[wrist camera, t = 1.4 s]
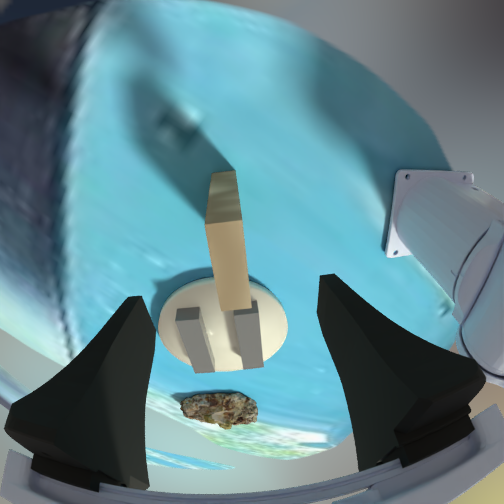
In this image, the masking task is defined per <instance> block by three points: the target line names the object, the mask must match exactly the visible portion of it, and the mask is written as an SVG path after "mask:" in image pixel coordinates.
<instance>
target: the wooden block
mask: <svg viewBox="0 0 504 504" xmlns="http://www.w3.org/2000/svg"><path fill="white" fill-rule="evenodd" d="M205 230H206V236H207V241H208V247H209V252H210V258H211V263H212V268H213V274H214V279H215V284H216V289H217V294H218V299H219V304H220V309H221V311H230V310H239V309H248V308H252V306H251V296H250V287H249V278H248V269H247V260H246V250H245V241H244V232H243V222H242V214H241V207H240V200H239V193H238V186H237V179H236V171H235V170H233V171H225V172H216V173H212V175H211V182H210V189H209V196H208V203H207V210H206V218H205Z"/></svg>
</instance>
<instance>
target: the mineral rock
mask: <svg viewBox="0 0 504 504" xmlns="http://www.w3.org/2000/svg"><path fill="white" fill-rule="evenodd" d="M180 405H182V406H181V408H180V409H181V410H182V411H183V415H184V416H185V417H186V418H190V419H196V420H199V421H201V422H207V423H212V424H216V423H218V425H219V426H220V427H222V428H224V429H231V427H232V424H233V425H239V424H250V423H251V422H256V421H257V417H256V416H257V415H258V409H257V406H256V402H255V401H254V400H252V399H251V398H249V397H246V396H244V395H243V394H241V393H238V392H237V393H234V394H232V393H230V394H226V393H217V394H197V395H195V396H193V397H192V398H186V399H185V400H184V401H182V402H181V404H180Z"/></svg>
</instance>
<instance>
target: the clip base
mask: <svg viewBox="0 0 504 504" xmlns="http://www.w3.org/2000/svg"><path fill="white" fill-rule="evenodd" d="M249 287H250V296H251V306H252V308H248V309H239V310H230V311H221V309H220V304H219V299H218V294H217V289H216V284H215V279H214V277H208V278H202V279H199V280H195V281H193V282H190V283H188V284H185V285H184V286H182V287H180V288H178V289H177V290H176V291H175V292H173V293H172V294H171V295H170V296H169V297H168V298H167V300H166V301H165V303H164V305H163V307H162V309H161V313H160V318H159V322H158V331H159V335H160V338H161V341H162V342H163V344H164V346H165V347H166V348H167V350H168V351H169V352H170V353H171V354H172V355H174V356H175V357H176V358H178V359H179V360H181V361H182V362H184V363H187V364H189V365H191V366H192V367H193V369H194V372H195V373H210V372H215V371H235V370H241V369H243V370H244V369H253V368H261V367H264V364H263V361H265V360H267V359H268V358H270V357H271V356H272V355H273V354H275V353H276V352H277V351H278V349H279V348H280V347H281V346H282V344H283V342H284V340H285V338H286V335H287V329H288V325H287V319H286V315H285V311H284V308H283V306H282V304H281V302H280V301H279V300H278V298H277V297H276V296H275V295H274V294H273V293H272V292H271V291H269V290H268V289H266V288H265V287H263V286H261V285H259V284H257V283H255V282H252V281H250V280H249Z"/></svg>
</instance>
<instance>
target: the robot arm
mask: <svg viewBox="0 0 504 504" xmlns="http://www.w3.org/2000/svg"><path fill="white" fill-rule="evenodd" d="M406 174H408V176H407V178H405V176H406ZM463 176H464V177H463ZM473 180H474V175H473V173H471V172H462V171H444V170H404V169H401V170H398V171H397V173H396V176H395V186H394V195H393V203H392V210H391V218H390V224H389V231H388V237H387V243H386V248H385V255H386V256H387V257H388V258H393V257H400V256H406V255H414V257H415V258H416V259H417V260H418V261H419V262H420V263H421V264H422V265H423V266H424V268H425V269H426V270H427V271H428V272H429V273H430V274H431V276H432V277H433V278H434V279H435V280H436V281H437V283H438V284H439V285H440V286H441V287H442V288H443V290H444V291H445V292H446V293H447V295H448V296H449V297H450V298H451V299H452V301H453V302H454V303H455V308H454V311H453V313H452V315H453V316H454V318H455V319H456V320H457V322H458V323H459V324H460V325H459V327H458V329H457V332H456V345H457V349H458V351H459V354H460V355H459V354H456V353H453V352H450V351H448V350H446V349H443V348H441V347H438V346H436V345H434V344H432V343H429V342H427V341H426V340H424V339H422V338H420V337H418V336H416V335H414V334H412V333H411V332H409V331H407V330H406V329H404V328H402V327H401V326H399V325H398V324H396V323H394V322H393V321H392V320H390V319H389V318H387V317H386V316H385V315H383V314H382V313H380V312H379V311H378V310H376V309H375V308H374V307H373V306H371V305H370V304H369V303H368V302H366V301H365V300H364V299H363V298H362V297H360V296H359V295H358V294H357V293H356V292H355V291H354V290H352V289H351V288H350V287H349V286H348V285H347V284H346V283H344V282H343V281H342V280H341V279H340V278H339V277H338V276H337V275H335V274H328V275H320V281H319V293H318V305H317V316H318V319H319V323H320V327H321V331H322V334H323V337H324V339H325V342H326V344H327V347H328V349H329V352H330V354H331V357H332V359H333V362H334V364H335V367H336V369H337V372H338V374H339V377H340V380H341V383H342V386H343V389H344V393H345V397H346V401H347V405H348V410H349V414H350V419H351V423H352V429H353V434H354V439H355V446H356V453H357V460H358V469H359V472H358V473H354V474H351V475H347V476H343V477H340V478H336V479H332V480H328V481H323V482H319V483H314V484H309V485H304V486H298V487H292V488H286V489H279V490H271V491H263V492H252V493H237V494H180V493H165V492H155V491H147V490H146V489H147V488H148V487H149V486H150V485H149V479H148V471H147V463H146V450H145V404H146V395H147V390H148V384H149V379H150V373H151V368H152V363H153V357H154V352H155V337H156V329H155V327H154V325H153V322H152V320H151V318H150V315H149V313H148V310H147V308H146V305H145V303H144V300H143V298H142V296H131V297H128V298H127V299H126V300H125V301H124V302H123V303H122V305H121V306H120V307H119V308H118V309H117V311H116V312H115V313H114V314H113V315H112V317H111V318H110V319H109V320H108V322H107V323H106V324H105V325H104V326H103V328H102V329H101V330H100V331H99V332H98V334H97V335H96V336H95V337H94V338H93V339H92V340H91V341H90V343H89V344H88V345H87V346H86V347H85V348H84V349H83V350H82V351H81V352H80V353H79V354H78V355H77V356H76V357H75V358H74V359H73V360H72V361H71V362H70V363H69V364H68V365H67V366H66V367H65V368H63V369H62V370H61V371H60V372H59V373H57V374H56V375H55V376H54V377H53V378H51V379H50V380H49V381H48V382H46V383H45V384H43V385H42V386H41V387H39V388H38V389H36V390H35V391H33V392H32V393H30V394H28V395H27V396H25V397H23V398H21V399H20V400H18V401H16V402H14V403H12V405H11V408H10V411H9V415H8V417H7V420H6V424H5V427H4V429H5V432H6V433H7V434H8V435H9V436H10V437H11V438H12V439H14V440H15V441H16V442H18V443H19V444H20V445H22V446H23V447H25V448H26V449H27V450H29V451H31V452H32V453H34V455H33V459H32V458H30V457H27V456H25V455H23V454H21V453H18V452H16V451H14V450H12V449H9V451H8V455H7V460H6V464H5V469H4V474H3V479H2V485H1V491H0V495H1V497H3V498H5V499H6V500H8V501H9V502H11V503H13V504H308V503H313V502H318V501H323V500H327V499H331V498H335V497H339V496H343V495H346V494H350V493H354V492H357V491H360V490H363V489H366V488H368V489H367V490H366V491H365V492H362V493H359V494H356V495H353V496H351V497H347V498H345V499H342V500H338V501H334V502H332V504H448V503H450V502H451V501H453V500H454V499H456V498H457V497H459V496H460V495H462V494H463V493H465V492H466V491H467V490H469V489H470V488H472V487H473V486H474V485H475V484H477V483H478V482H479V481H481V480H482V479H483V478H485V477H486V476H487V475H488V474H490V473H491V472H492V471H493V470H495V469H496V468H497V467H498V466H500V465H501V464H502V463H503V462H504V418H503V416H502V414H501V412H500V410H499V408H498V406H497V404H493V405H492V406H490V407H489V408H487V409H486V410H484V411H483V412H481V413H479V414H478V415H477V416H475V417H474V418H472V419H470V417H469V415H468V414H469V413H470V412H471V409H470V406H469V405H468V404H469V402H470V401H471V400H472V399H473V398H474V397H475V396H476V395H477V394H478V393H479V391H480V390H481V389H482V388H483V386H484V384H485V382H489V383H493V384H496V385H499V386H501V387H503V388H504V203H502V202H501V201H499V200H498V199H496V198H495V197H493V196H492V195H490V194H488V193H487V192H485V191H483V190H482V189H480V188H478V187H477V186H475V185H473ZM394 251H396V252H395V253H394Z"/></svg>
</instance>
